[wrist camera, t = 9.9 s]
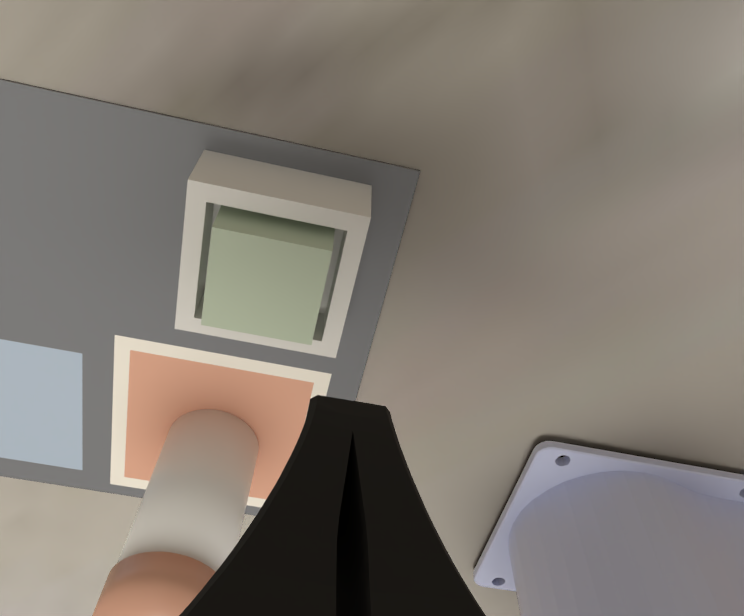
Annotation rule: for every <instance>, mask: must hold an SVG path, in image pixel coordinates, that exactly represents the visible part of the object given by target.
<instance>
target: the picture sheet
mask: <svg viewBox="0 0 744 616" xmlns="http://www.w3.org/2000/svg"><path fill="white" fill-rule="evenodd" d="M204 150H208V151H213V152H218V153H222V154H227V155H232V156H236V157H241V158H246V159H250V160H255V161H260V162H264V163H269V164H274V165H278V166H283V167H288V168H292V169H297V170H302V171H306V172H311V173H316V174H320V175H325V176H330V177H334V178H339V179H344V180H348V181H353V182H358V183H362V184H367V185H372V192H371V220H370V224H369V228H368V232H367V236H366V240H365V244H364V248H363V252H362V256H361V260H360V264H359V268H358V271H357V275H356V279H355V283H354V287H353V291H352V295H351V299H350V303H349V307H348V311H347V315H346V319H345V323H344V327H343V331H342V335H341V339H340V343H339V347H338V351H337V355H336V358H331V357H326V356H321V355H315V354H310V353H304V352H299V351H293V350H288V349H282V348H277V347H271V346H266V345H261V344H255V343H250V342H244V341H239V340H233V339H228V338H222V337H217V336H211V335H206V334H201V333H195V332H190V331H184V330H179V329H175V318H176V307H177V295H178V284H179V273H180V261H181V250H182V239H183V227H184V216H185V205H186V193H187V182H188V178H189V176H190V174H191V173H192V171H193V169H194V167H195V165H196V164H197V162H198V160H199V158H200V156H201V155H202V153H203V151H204ZM419 174H420V170H416V169H411V168H407V167H402V166H398V165H393V164H389V163H384V162H379V161H375V160H370V159H366V158H361V157H357V156H352V155H347V154H343V153H338V152H334V151H329V150H324V149H320V148H315V147H311V146H306V145H302V144H297V143H292V142H288V141H283V140H279V139H274V138H270V137H265V136H260V135H256V134H251V133H247V132H242V131H237V130H233V129H228V128H224V127H219V126H215V125H210V124H205V123H201V122H196V121H192V120H187V119H182V118H178V117H173V116H169V115H164V114H160V113H155V112H150V111H146V110H141V109H137V108H132V107H128V106H123V105H118V104H114V103H109V102H105V101H100V100H95V99H91V98H86V97H82V96H77V95H73V94H68V93H63V92H59V91H54V90H50V89H45V88H41V87H36V86H31V85H27V84H22V83H18V82H13V81H8V80H4V79H0V476H3V477H10V478H16V479H23V480H29V481H36V482H42V483H49V484H55V485H62V486H68V487H75V488H81V489H88V490H94V491H100V492H107V493H113V494H120V495H126V496H133V497H139V498H143V496H144V493H145V491H146V488H147V486H148V483H149V481H150V478H151V475H152V473H153V470H154V468H155V465H156V463H157V460H158V458H159V455H160V453H161V450H162V447H163V445H164V442H165V440H166V437H167V435H168V432H169V430H170V428H171V426H172V424H173V423H174V422H175V421H176V420H177V419H178V418H179V417H181V416H182V415H184V414H186V413H188V412H191V411H195V410H201V409H214V410H220V411H224V412H227V413H230V414H232V415H234V416H236V417H238V418H240V419H241V420H243V421H244V422H245V423H247V424H248V425H249V426H250V428H251V429H252V430H253V431H254V433H255V435H256V437H257V440H258V444H259V451H258V456H257V461H256V465H255V470H254V474H253V479H252V483H251V487H250V492H249V496H248V501H247V505H246V510H245V514H249V515H257V514H258V512H259V510H260V509H261V507H262V505H263V504H264V502H265V501H266V499H267V497H268V496H269V494H270V492H271V491H272V489H273V488H274V486H275V484H276V482H277V481H278V479H279V477H280V475H281V473H282V471H283V469H284V467H285V465H286V463H287V462H288V460H289V458H290V456H291V454H292V452H293V450H294V448H295V445H296V443H297V441H298V438H299V436H300V434H301V431H302V429H303V426H304V423H305V420H306V416H307V411H308V407H309V402H310V399H311V398H313V397H315V396H317V395H321V396H327V397H333V398H339V399H345V400H351V401H355V400H356V397H357V393H358V390H359V386H360V383H361V379H362V376H363V372H364V369H365V365H366V361H367V358H368V354H369V351H370V347H371V344H372V340H373V337H374V333H375V330H376V326H377V323H378V319H379V315H380V312H381V308H382V305H383V301H384V298H385V294H386V291H387V287H388V284H389V280H390V277H391V273H392V270H393V266H394V262H395V259H396V255H397V252H398V248H399V245H400V241H401V238H402V234H403V231H404V227H405V224H406V220H407V217H408V213H409V209H410V206H411V202H412V199H413V195H414V192H415V188H416V185H417V181H418V178H419Z"/></svg>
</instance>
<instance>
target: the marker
mask: <svg viewBox="0 0 744 616" xmlns="http://www.w3.org/2000/svg"><path fill="white" fill-rule="evenodd" d="M258 451H259V444H258V440H257V437H256V435H255V433H254V431H253V430H252V429H251V428H250V426H249V425H248V424H247V423H245V422H244V421H243V420H241V419H240V418H238V417H236V416H234V415H232V414H230V413H227V412H224V411H220V410H214V409H201V410H195V411H191V412H188V413H186V414H184V415H182V416H181V417H179V418H178V419H177V420H176V421H175V422H174V423H173V424H172V426H171V428H170V430H169V432H168V435H167V437H166V440H165V442H164V445H163V447H162V450H161V453H160V455H159V458H158V460H157V463H156V465H155V468H154V470H153V473H152V475H151V478H150V481H149V483H148V486H147V488H146V491H145V493H144V496H143V498H142V501H141V504H140V506H139V509H138V511H137V514H136V516H135V519H134V521H133V524H132V527H131V529H130V532H129V534H128V537H127V539H126V542H125V544H124V547H123V549H122V552H121V555H120V557H119V560H118V562H117V564H116V565H115V566H114V567H113V568H112V570H111V571H110V573H109V575H108V578H107V580H106V583H105V585H104V588H103V590H102V593H101V595H100V598H99V600H98V603H97V605H96V608H95V610H94V613H93V615H92V616H179V615H180V614H181V613H182V612H183V611H184V610H185V608H186V607H187V606H188V605H189V604H190V603H191V602H192V600H193V599H194V598H195V597H196V596H197V594H198V593H199V592H200V591H201V590H202V588H203V587H204V586H205V585H206V583H207V582H208V581H209V580H210V578H211V577H212V576H213V575H214V573H215V572H216V571H217V570H218V568H219V567H220V566H221V565H222V563H223V562H224V561H225V559H226V558H227V557H228V555H229V554H230V553H231V551H232V550H233V549H234V547H235V546H236V544H237V543H238V541H239V537H240V532H241V528H242V523H243V519H244V514H245V510H246V505H247V501H248V496H249V492H250V487H251V483H252V479H253V474H254V470H255V465H256V461H257V456H258Z"/></svg>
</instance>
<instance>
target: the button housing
mask: <svg viewBox="0 0 744 616" xmlns="http://www.w3.org/2000/svg"><path fill="white" fill-rule="evenodd" d="M371 192H372V185H367V184H362V183H358V182H353V181H348V180H344V179H339V178H334V177H330V176H325V175H320V174H316V173H311V172H306V171H302V170H297V169H292V168H288V167H283V166H278V165H274V164H269V163H264V162H260V161H255V160H250V159H246V158H241V157H236V156H232V155H227V154H222V153H218V152H213V151H208V150H204V151H203V153H202V155H201V156H200V158H199V160H198V162H197V164H196V165H195V167H194V169H193V171H192V173H191V174H190V176H189V178H188V182H187V193H186V205H185V216H184V227H183V239H182V250H181V261H180V273H179V284H178V295H177V307H176V318H175V329H179V330H184V331H190V332H195V333H201V334H206V335H211V336H217V337H222V338H228V339H233V340H239V341H244V342H250V343H255V344H261V345H266V346H271V347H277V348H282V349H288V350H293V351H299V352H304V353H310V354H315V355H321V356H326V357H331V358H336V355H337V351H338V347H339V343H340V339H341V335H342V331H343V327H344V323H345V319H346V315H347V311H348V307H349V303H350V299H351V295H352V291H353V287H354V283H355V279H356V275H357V271H358V268H359V264H360V260H361V256H362V252H363V248H364V244H365V240H366V236H367V232H368V228H369V224H370V220H371ZM221 205H224V206H229V207H233V208H238V209H243V210H248V211H253V212H258V213H263V214H268V215H272V216H277V217H282V218H287V219H292V220H297V221H302V222H306V223H311V224H316V225H321V226H326V227H331V228H335V232H334V242H333V251H332V255H331V260H330V264H329V269H328V273H327V278H326V282H325V287H324V291H323V296H322V300H321V305H320V309H319V313H318V318H317V322H316V327H315V331H314V336H313V340H312V345H307V344H302V343H296V342H291V341H285V340H280V339H275V338H269V337H264V336H258V335H253V334H248V333H242V332H237V331H231V330H226V329H221V328H215V327H210V326H204V325H201V319H202V311H203V302H204V293H205V284H206V275H207V266H208V258H209V249H210V240H211V231H212V226H213V223H214V221H215V219H216V216H217V214H218V212H219V209H220V207H221Z"/></svg>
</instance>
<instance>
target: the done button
mask: <svg viewBox="0 0 744 616" xmlns="http://www.w3.org/2000/svg"><path fill="white" fill-rule="evenodd" d="M334 232H335V228H331V227H326V226H321V225H316V224H311V223H306V222H302V221H297V220H292V219H287V218H282V217H277V216H272V215H268V214H263V213H258V212H253V211H248V210H243V209H238V208H233V207H229V206H224V205H221V207H220V209H219V212H218V214H217V216H216V219H215V221H214V223H213V226H212V231H211V240H210V249H209V258H208V266H207V275H206V284H205V293H204V302H203V311H202V319H201V325H204V326H210V327H215V328H221V329H226V330H231V331H237V332H242V333H248V334H253V335H258V336H264V337H269V338H275V339H280V340H285V341H291V342H296V343H302V344H307V345H312V340H313V336H314V331H315V327H316V322H317V318H318V313H319V309H320V305H321V300H322V296H323V291H324V287H325V282H326V278H327V273H328V269H329V264H330V260H331V255H332V251H333V242H334Z"/></svg>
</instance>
